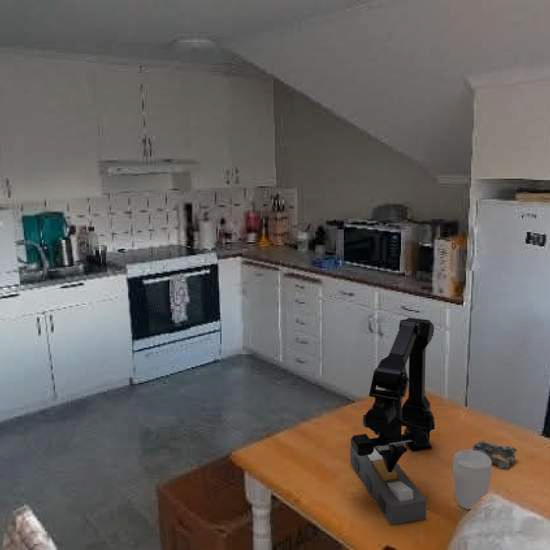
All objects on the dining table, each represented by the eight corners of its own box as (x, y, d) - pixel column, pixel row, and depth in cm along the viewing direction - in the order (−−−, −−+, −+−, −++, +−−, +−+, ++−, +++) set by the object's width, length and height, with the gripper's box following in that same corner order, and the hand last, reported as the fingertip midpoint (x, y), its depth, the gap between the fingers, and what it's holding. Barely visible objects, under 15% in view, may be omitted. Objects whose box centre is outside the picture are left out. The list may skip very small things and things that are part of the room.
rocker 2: (386, 466, 149) (386, 459, 149) (397, 481, 142) (397, 473, 142) (373, 468, 148) (373, 461, 148) (383, 483, 142) (384, 475, 141)
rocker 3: (401, 490, 140) (400, 480, 140) (413, 499, 133) (412, 489, 133) (387, 492, 140) (386, 483, 140) (399, 501, 133) (398, 492, 133)
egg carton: (518, 462, 157) (519, 449, 156) (504, 472, 152) (505, 458, 151) (483, 447, 165) (483, 435, 164) (468, 457, 160) (469, 444, 159)
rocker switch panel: (380, 458, 160) (380, 442, 159) (426, 518, 134) (426, 500, 133) (349, 463, 159) (349, 447, 158) (390, 525, 132) (390, 506, 131)
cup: (446, 493, 143) (447, 450, 141) (480, 490, 144) (482, 448, 141) (460, 515, 135) (462, 470, 132) (496, 512, 135) (499, 467, 133)
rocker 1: (373, 446, 158) (373, 440, 157) (382, 465, 152) (383, 458, 150) (360, 448, 157) (361, 442, 156) (370, 467, 151) (370, 460, 150)
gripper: (410, 396, 149) (409, 450, 152) (343, 405, 145) (343, 460, 148) (430, 415, 138) (428, 472, 141) (358, 424, 134) (358, 483, 137)
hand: (389, 471), depth 142 cm, fingers closed
